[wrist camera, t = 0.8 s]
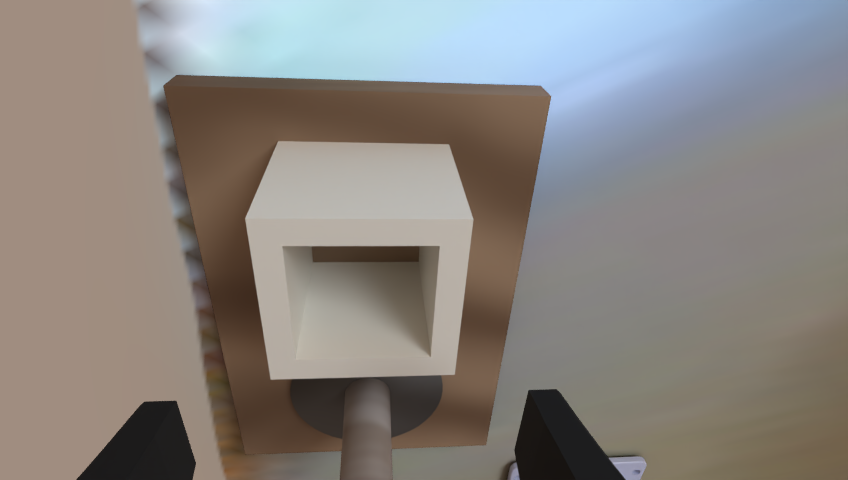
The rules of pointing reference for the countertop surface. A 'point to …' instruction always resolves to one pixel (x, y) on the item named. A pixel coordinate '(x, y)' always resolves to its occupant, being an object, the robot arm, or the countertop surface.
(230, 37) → the countertop surface
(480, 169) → the post board
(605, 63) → the countertop surface
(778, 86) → the countertop surface
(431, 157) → the collar
